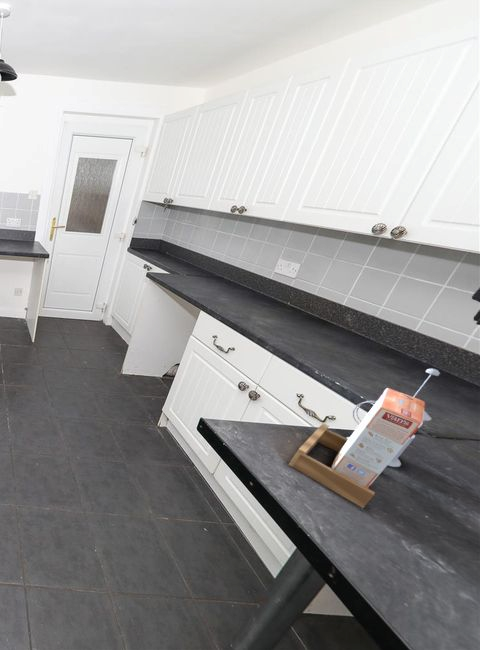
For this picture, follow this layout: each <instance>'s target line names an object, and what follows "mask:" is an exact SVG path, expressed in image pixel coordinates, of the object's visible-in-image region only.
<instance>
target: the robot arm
mask: <svg viewBox="0 0 480 650" xmlns="http://www.w3.org/2000/svg"><path fill="white" fill-rule="evenodd" d="M471 299H472V300H473V301H476V302H478V303H480V286H479V287H478V288H477V290H475V292H474V293H473V294H472V295H471ZM473 321H475V325H478V326H480V309H478V311H477V312H476V313H475V315H474V316H473Z"/></svg>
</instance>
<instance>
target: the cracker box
mask: <svg viewBox="0 0 480 650" xmlns="http://www.w3.org/2000/svg"><path fill="white" fill-rule="evenodd" d="M376 401H377V402H375V403H373V406H372V407H371V408H370V410H369V411H368V412H367V413H366V415H365V416H364V418H363V419H362V420H361V422H360V423H359V425H358V426H357V427H356V428H355V430H354V431H353V432H352V434H351V435H350V436H349V437H350V438H349V439H348V440H347V442H346V443H345V444H344V446H343V447H342V448H341V450H340V451H339V452H336V455H335V456H334V459H333V461H332V463H331V465H330V468H331V469H333V470H335V471H337V472H339V473H340V474H342V475H344V476H346V477H348V478H350V479H351V480H353V481H355V482H357V483H359V484H361V485H362V486H364V487H366V488H368V489H369V487H370V486H371V485H372V484H373V483H374V482H375V480H376V479H377V478H378V477H379V476H380V475H381V474H382V473H383V471H384V470H385V469H386V468H387V467H388V464H389V463H390V462H391V460H392V459H393V458H394V457H395V456H396V454H397V453H398V452H399V451H400V450H401V448H402V447H403V446H404V445H405V444H406V443H407V442H408V440H409V439H410V438H411V437H412V436H413V435H415V434H416V433H417V432H418V430H419V429H420V428H421V427H422V426H423V424H424V421H423V416H424V411H425V408H426V402H425V401H424V400H421V399H420V398H418V397H416V396H415V397H413V396H412V395H409V394H406V393H403V392H400V391H397V390H395V389H393V388H390V387H386V388H385V389H384V390H383V392H382V394H381V395H380V396H379V397H378V399H377V400H376ZM416 431H417V432H416ZM415 432H416V433H415ZM385 467H386V468H385ZM384 468H385V469H384ZM380 473H381V474H380Z"/></svg>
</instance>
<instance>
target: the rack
mask: <svg viewBox="0 0 480 650" xmlns="http://www.w3.org/2000/svg"><path fill="white" fill-rule="evenodd" d="M329 427H330V425H328V424H327V423H324V422H322V423H321V424H320V426H319V427H318V428H317V429H316V430H315V431H314V432H313V433H312V434H311V435H310V436H309V437H308V439H306V440H305V442H304V443H303V444H302V445H301V446H300V447H299V448H298V450H297V451H296V453H295V454H294V456H293V457H292V459H291V460H290V462H289V463H288V466H290V467H292V468H293V469H295V470H296V471H299V472H300V473H302V474H304V475H305V476H307V477H309V478H310V479H312V480H314V481H316V482H317V483H319V484H321V485H322V486H324V487H326V488H327V489H329V490H331V491H332V492H334V493H336V494H338V495H340V496H341V497H343V498H345V499H347V500H348V501H350V502H352V503H353V504H355V505H356V506H358V507H360V508H361V509H363V508H365V506H366V505H367V504H368V503H369V502H370V501H371V499H372V498H373V497H374V496H375V494H376V492H375V491H373V490H371V489H370V488H369V487H368V488H366V487H364V486H362V485H361V484H359V483H357V482H355V481H353V480H351V479H350V478H348V477H346V476H344V475H342V474H340V473H339V472H337V471H335V470H333V469H331V466H327V465H326V464H324V463H322V462H320V461H319V460H317V459H315V458H313V457H311V456H310V455H308V454H310V453H311V451H312V450H313V449H314V447H315V446H316V445H317V444H318V443H319V444H321V445H323V446H325V447H327V448H329V449H331V450H332V451H335V452H336V453H338V452H339V451H340V450H341V448H342V447H343V446H344V444H345V443H346V442H347V440H348V439H347V437H345V436H342V434H339V433H337V432H335V431H332V430H330V429H329ZM386 468H387V466H386V467H385V468H384V470H385V469H386ZM381 474H382V472H381V473H380V474H379V475H381Z"/></svg>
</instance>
